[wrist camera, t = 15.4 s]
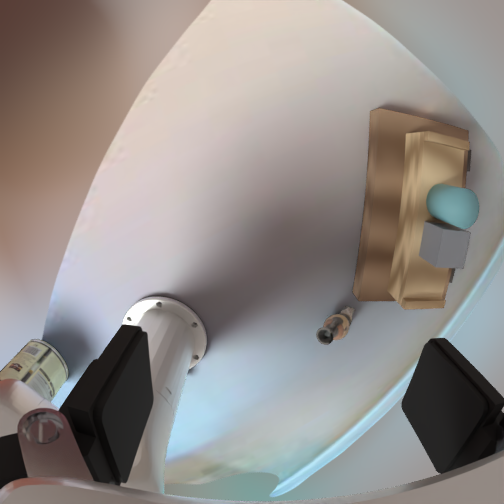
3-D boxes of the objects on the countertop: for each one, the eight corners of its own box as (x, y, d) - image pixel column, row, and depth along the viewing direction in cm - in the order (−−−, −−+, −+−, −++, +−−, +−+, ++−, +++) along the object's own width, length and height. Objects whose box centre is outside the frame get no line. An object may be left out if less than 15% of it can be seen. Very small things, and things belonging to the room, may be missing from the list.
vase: (305, 331, 43) (312, 352, 37) (317, 296, 42) (327, 313, 36) (339, 338, 43) (350, 359, 37) (352, 305, 42) (366, 322, 36)
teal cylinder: (450, 220, 30) (475, 230, 26) (423, 216, 30) (448, 227, 26) (455, 186, 29) (481, 192, 24) (428, 181, 29) (453, 186, 24)
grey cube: (445, 257, 32) (463, 268, 28) (418, 255, 32) (435, 267, 28) (451, 224, 31) (470, 232, 27) (424, 221, 31) (443, 229, 27)
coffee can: (46, 385, 48) (13, 430, 34) (18, 343, 45) (-22, 383, 31) (78, 380, 47) (45, 432, 33) (49, 334, 44) (5, 380, 30)
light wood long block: (424, 290, 38) (443, 308, 33) (387, 290, 38) (404, 309, 32) (444, 142, 32) (469, 142, 27) (405, 133, 32) (428, 131, 27)
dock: (439, 291, 41) (449, 299, 38) (352, 291, 41) (358, 301, 38) (461, 132, 34) (473, 132, 31) (370, 111, 34) (378, 108, 31)
